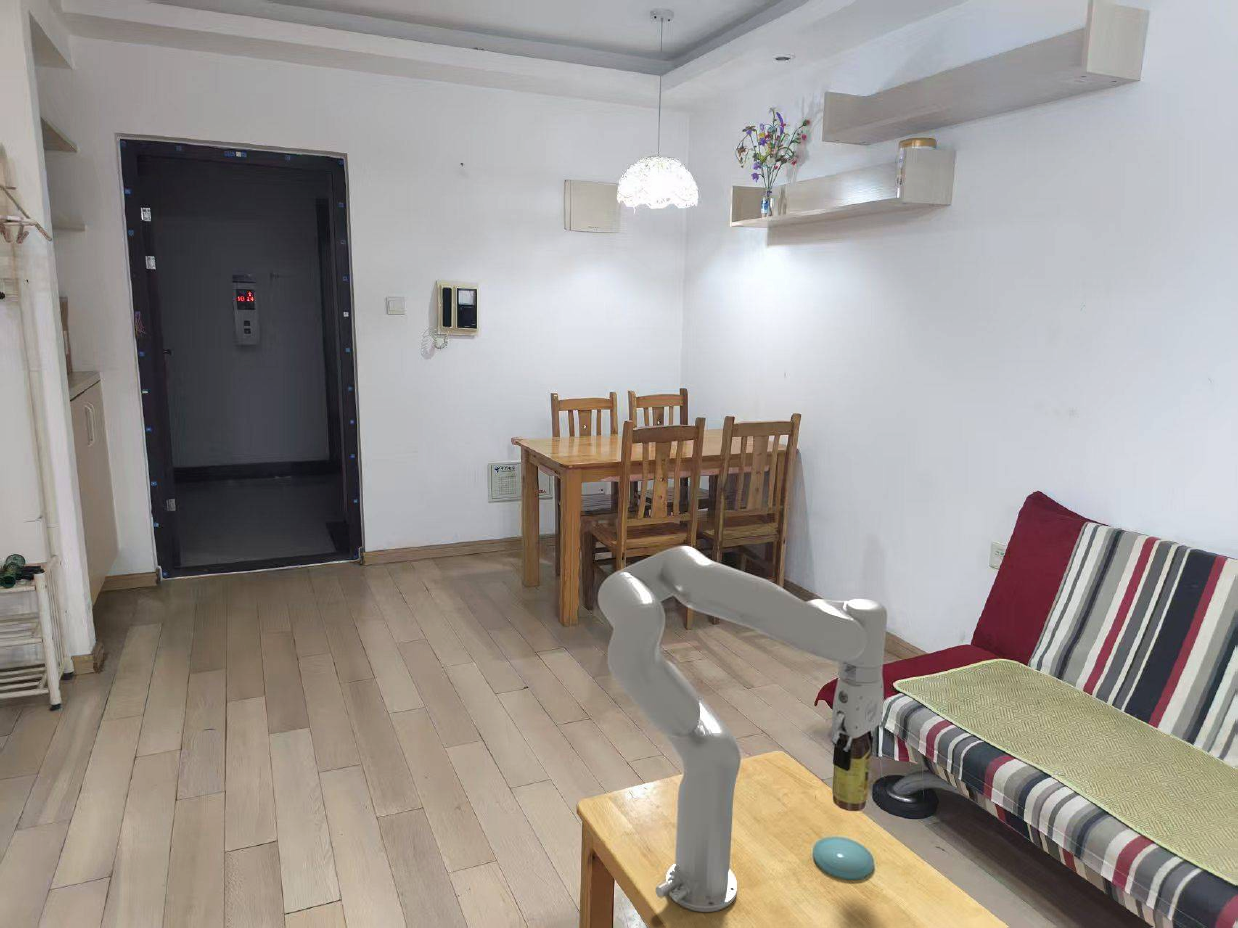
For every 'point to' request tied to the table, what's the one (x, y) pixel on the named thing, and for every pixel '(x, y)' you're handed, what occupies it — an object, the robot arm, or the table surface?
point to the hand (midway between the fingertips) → (852, 759)
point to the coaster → (843, 858)
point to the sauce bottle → (853, 776)
